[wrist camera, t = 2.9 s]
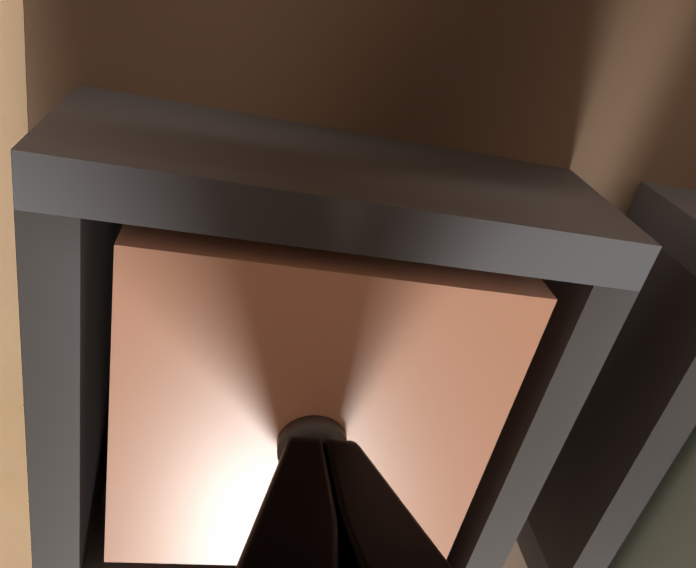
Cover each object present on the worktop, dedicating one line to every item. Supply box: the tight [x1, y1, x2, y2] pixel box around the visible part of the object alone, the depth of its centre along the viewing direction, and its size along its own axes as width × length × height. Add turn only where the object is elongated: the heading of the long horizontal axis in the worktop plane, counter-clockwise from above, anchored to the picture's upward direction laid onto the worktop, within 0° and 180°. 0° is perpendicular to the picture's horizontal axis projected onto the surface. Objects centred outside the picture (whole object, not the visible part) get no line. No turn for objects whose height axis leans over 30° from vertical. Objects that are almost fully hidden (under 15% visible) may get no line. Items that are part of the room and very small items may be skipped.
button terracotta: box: [104, 224, 557, 565], centre depth 9 cm, size 5×5×2 cm
